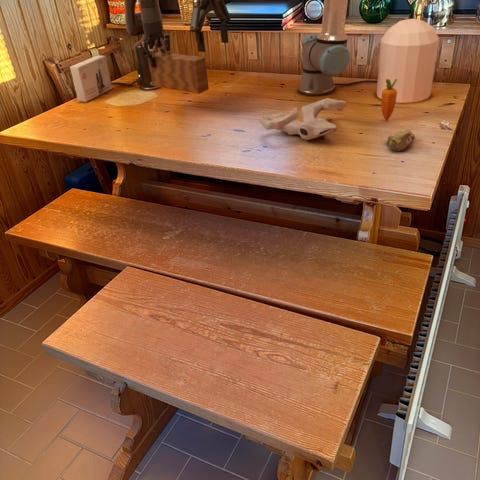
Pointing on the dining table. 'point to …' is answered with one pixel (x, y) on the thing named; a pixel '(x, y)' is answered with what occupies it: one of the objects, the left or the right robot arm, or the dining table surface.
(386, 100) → the carrot
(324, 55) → the right robot arm
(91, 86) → the skincare box
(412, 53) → the container
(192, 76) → the box
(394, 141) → the rock
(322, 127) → the beige branched piece
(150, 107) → the dining table surface
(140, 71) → the left robot arm
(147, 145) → the dining table surface
